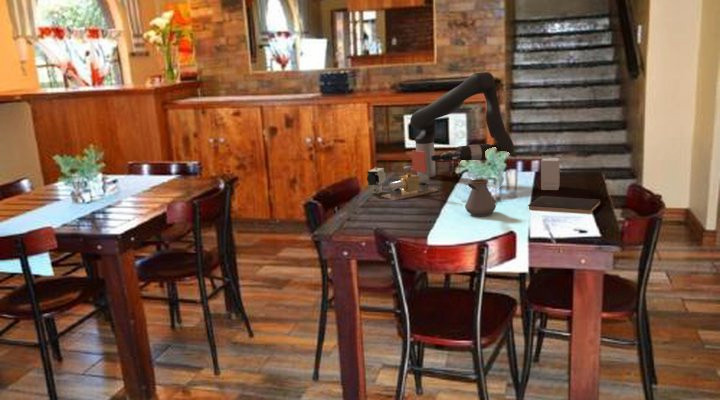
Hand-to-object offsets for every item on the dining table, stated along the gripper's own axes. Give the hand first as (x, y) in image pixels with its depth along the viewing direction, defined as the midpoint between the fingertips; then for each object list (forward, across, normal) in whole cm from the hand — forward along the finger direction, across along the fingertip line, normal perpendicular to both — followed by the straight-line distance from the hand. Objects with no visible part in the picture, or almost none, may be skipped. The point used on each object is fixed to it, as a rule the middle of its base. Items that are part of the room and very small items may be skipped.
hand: (431, 158), depth 270 cm
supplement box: (-48, +14, +17) cm, 53 cm away
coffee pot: (-1, +42, +17) cm, 46 cm away
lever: (+6, -5, +6) cm, 10 cm away
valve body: (+8, -10, +17) cm, 21 cm away
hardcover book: (-36, +45, +18) cm, 60 cm away
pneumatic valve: (+20, -20, +17) cm, 33 cm away
